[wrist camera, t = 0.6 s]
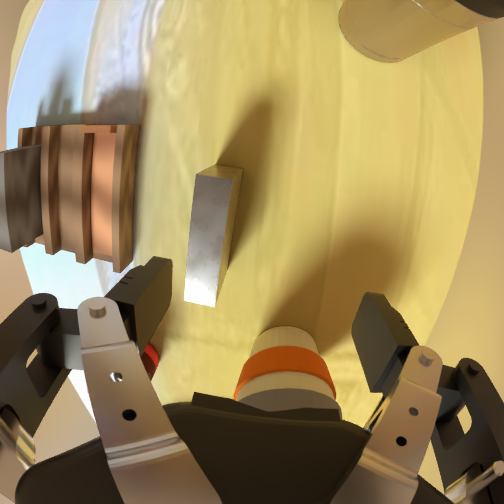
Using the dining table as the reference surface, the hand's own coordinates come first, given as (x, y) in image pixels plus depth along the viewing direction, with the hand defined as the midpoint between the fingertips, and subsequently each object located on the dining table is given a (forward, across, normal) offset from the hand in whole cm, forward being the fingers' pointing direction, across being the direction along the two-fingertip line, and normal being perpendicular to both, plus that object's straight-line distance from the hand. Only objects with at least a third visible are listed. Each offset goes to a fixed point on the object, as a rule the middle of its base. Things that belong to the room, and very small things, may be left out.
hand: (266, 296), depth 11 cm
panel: (+20, +5, +3) cm, 21 cm away
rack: (+20, +25, +2) cm, 32 cm away
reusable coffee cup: (+21, -6, +20) cm, 30 cm away
